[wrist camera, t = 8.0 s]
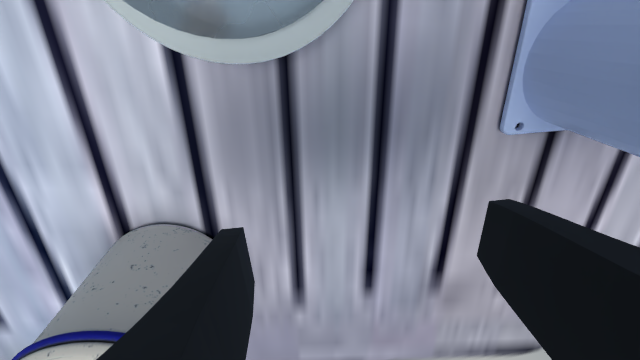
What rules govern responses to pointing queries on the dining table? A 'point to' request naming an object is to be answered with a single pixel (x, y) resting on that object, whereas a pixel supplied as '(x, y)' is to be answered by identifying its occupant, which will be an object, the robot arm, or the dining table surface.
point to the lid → (225, 15)
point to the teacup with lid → (118, 292)
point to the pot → (242, 48)
